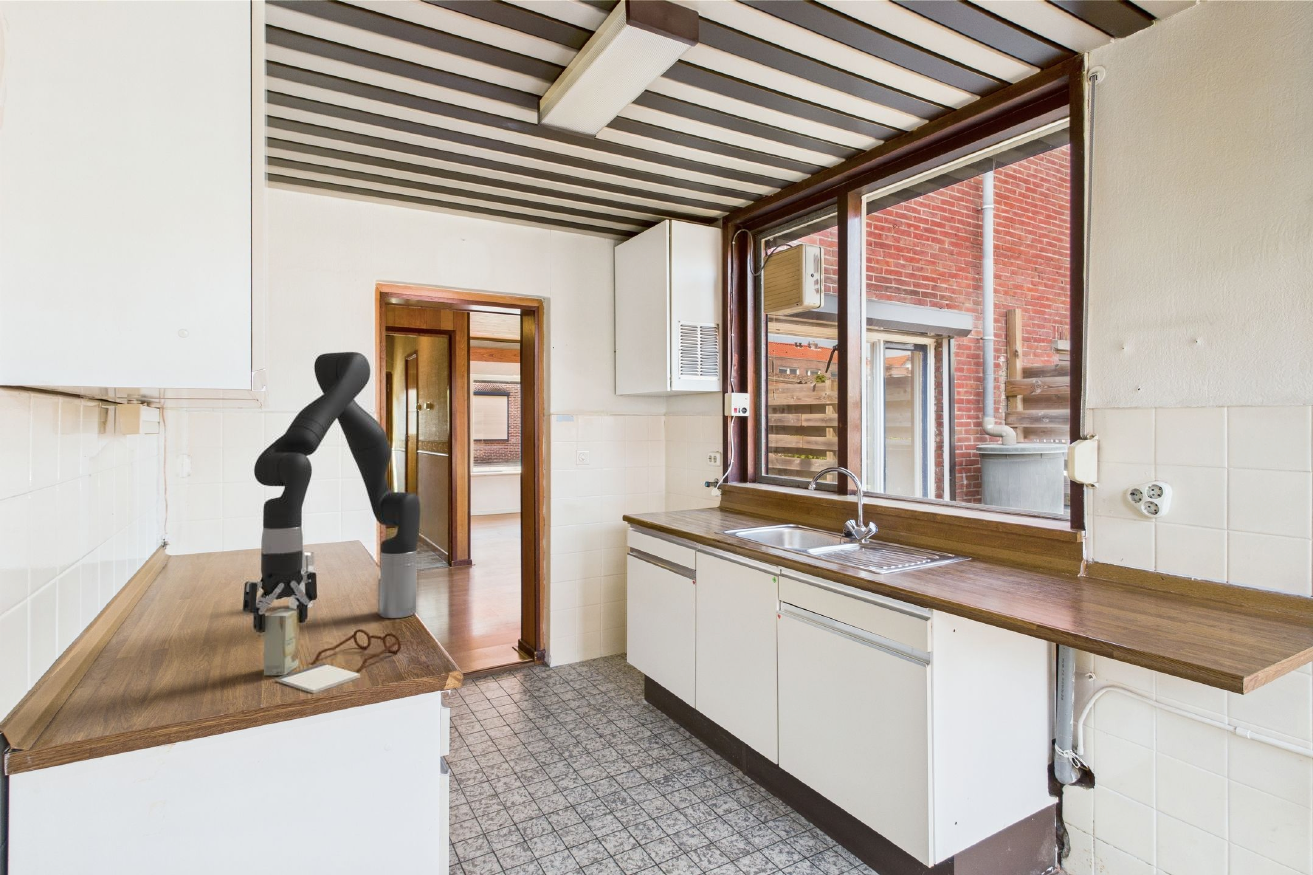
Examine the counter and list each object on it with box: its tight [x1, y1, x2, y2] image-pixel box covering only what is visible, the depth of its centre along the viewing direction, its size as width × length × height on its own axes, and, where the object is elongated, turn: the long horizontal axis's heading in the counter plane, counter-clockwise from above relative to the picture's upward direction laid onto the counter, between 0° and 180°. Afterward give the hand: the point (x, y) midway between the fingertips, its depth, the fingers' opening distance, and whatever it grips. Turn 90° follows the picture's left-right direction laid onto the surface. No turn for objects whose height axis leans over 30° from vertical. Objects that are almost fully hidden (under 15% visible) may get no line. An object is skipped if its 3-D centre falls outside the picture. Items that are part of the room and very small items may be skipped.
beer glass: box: [288, 551, 316, 609], centre depth 192 cm, size 7×7×15 cm
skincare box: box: [263, 608, 300, 676], centre depth 140 cm, size 6×4×12 cm
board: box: [276, 662, 361, 694], centre depth 136 cm, size 12×10×1 cm
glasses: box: [310, 628, 402, 673], centre depth 148 cm, size 13×13×5 cm
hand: (281, 627), depth 140 cm, fingers open, 8 cm apart
